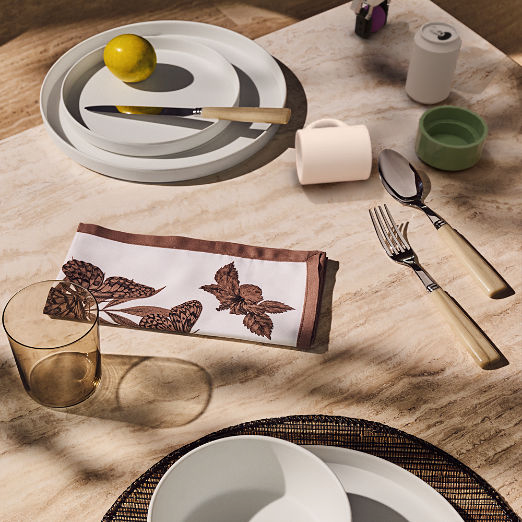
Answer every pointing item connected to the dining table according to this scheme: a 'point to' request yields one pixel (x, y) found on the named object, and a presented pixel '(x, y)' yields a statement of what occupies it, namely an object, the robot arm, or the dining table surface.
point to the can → (433, 62)
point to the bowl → (450, 137)
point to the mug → (332, 152)
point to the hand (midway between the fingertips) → (370, 28)
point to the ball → (377, 17)
